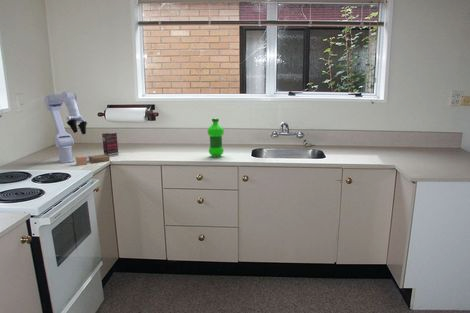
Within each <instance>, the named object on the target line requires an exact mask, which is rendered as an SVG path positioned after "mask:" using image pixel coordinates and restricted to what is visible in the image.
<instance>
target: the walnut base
mask: <svg viewBox="0 0 470 313" xmlns="http://www.w3.org/2000/svg"><path fill="white" fill-rule="evenodd" d="M88 161H89V162H90V163H93V164H97V163H105V162H106V163H107V162H110V157H109V156H107V155H104V153H103V154H96V155H89V156H88Z"/></svg>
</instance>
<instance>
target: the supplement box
mask: <svg viewBox="0 0 470 313" xmlns="http://www.w3.org/2000/svg"><path fill="white" fill-rule="evenodd" d="M117 135H118V134H117V132H116V131H115V132H114V131H113V132H105V133H102V134H101V136H102V146H103V147H102V150H103V154H104V155H107V156H112V157H114V156H113V155H118V156H119V146H118V136H117Z"/></svg>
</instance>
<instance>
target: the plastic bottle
mask: <svg viewBox="0 0 470 313" xmlns="http://www.w3.org/2000/svg"><path fill="white" fill-rule="evenodd" d="M211 122H212V124H211V125H210V126H209V127H208V128H207V135H208V136H209V147H208V153H209V155H210V156H212V157H213V158H220V157H222V155H223V154H224V152H225V151H224V147H223V135H224V134H225V133H224V132H225V131H224V130H225V129H224V128H223V127H222V126H221V125H220V124H219V122H220V120H219V118H218V117H217V118H216V117H215V118H212V119H211Z"/></svg>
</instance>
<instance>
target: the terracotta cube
mask: <svg viewBox="0 0 470 313" xmlns="http://www.w3.org/2000/svg"><path fill="white" fill-rule="evenodd" d="M75 162H76V163H75V164H76V165H77V166H78V167H79V166H80V167H81V166H87V165H88V159H87V156H86V155H77V156H75Z"/></svg>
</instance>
